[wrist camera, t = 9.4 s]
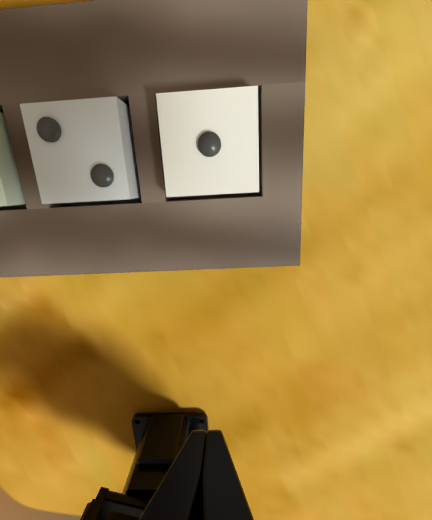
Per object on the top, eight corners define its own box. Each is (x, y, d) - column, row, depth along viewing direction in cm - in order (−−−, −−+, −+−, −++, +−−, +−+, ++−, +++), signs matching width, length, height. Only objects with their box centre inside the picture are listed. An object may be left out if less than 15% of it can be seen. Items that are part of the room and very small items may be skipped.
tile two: (146, 196, 18) (129, 199, 15) (71, 200, 18) (40, 204, 15) (135, 111, 16) (114, 95, 13) (55, 117, 17) (17, 102, 14)
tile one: (254, 190, 17) (259, 192, 14) (176, 194, 18) (165, 197, 15) (252, 102, 16) (258, 84, 13) (168, 108, 16) (154, 92, 13)
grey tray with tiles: (289, 253, 20) (299, 265, 17) (-31, 266, 21) (-72, 280, 18) (293, 16, 16) (307, -21, 13) (-98, 51, 17) (-164, 25, 14)
